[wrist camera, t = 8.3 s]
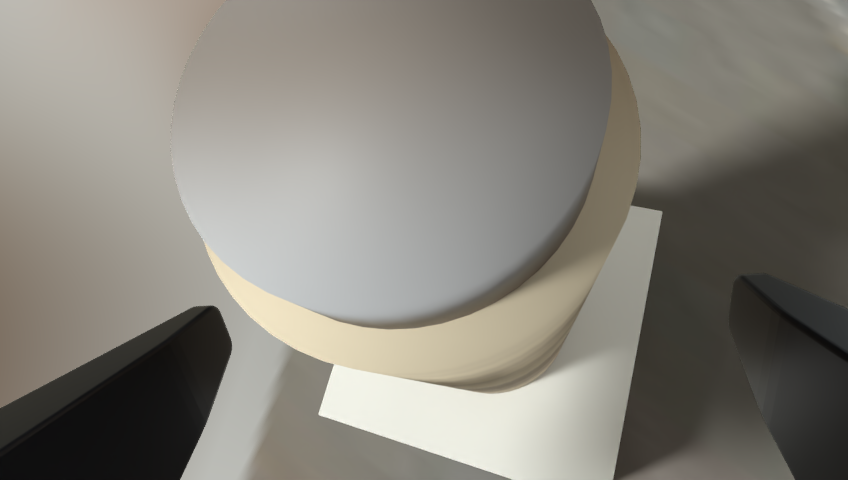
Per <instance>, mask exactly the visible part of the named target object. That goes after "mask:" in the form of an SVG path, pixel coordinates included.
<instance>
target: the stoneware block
mask: <svg viewBox="0 0 848 480" xmlns="http://www.w3.org/2000/svg"><path fill="white" fill-rule="evenodd" d="M662 212H663V211H658V210H652V209H647V208H642V207H636V206H630V209H629V212H628V216H627V219H626V221H625V223H624V225H623V227H622V229H621V231H620V233H619V235H618V237H617V239H616V241H615V244H614V246H613V248H612V250H611V252H610V254H609V256H608V257H607V259H606V261H605V263H604V265H603V267H602V269H601V271H600V273H599V275H598V277H597V279H596V281H595V283H594V285H593V287H592V289H591V291H590V293H589V295H588V297H587V298H586V300H585V302H584V304H583V306H582V308H581V310H580V312H579V314H578V316H577V318H576V320H575V322H574V324H573V326H572V328H571V330H570V332H569V334H568V336H567V338H566V340H565V341H564V343H563V345H562V347H561V349H560V351H559V353H558V355H557V357H556V358H555V360H554V361H553V363H552V364H551V365H550V367H549V368H548V369H547V370H546V371H545V372H544V373H543V374H542V375H541V376H539V377H538V378H537V379H536V380H534V381H533V382H531V383H529V384H528V385H526V386H524V387H521V388H519V389H516V390H513V391H510V392H504V393H495V394H487V393H478V392H473V391H467V390H462V389H457V388H451V387H446V386H441V385H436V384H430V383H425V382H420V381H414V380H409V379H404V378H398V377H393V376H388V375H382V374H377V373H372V372H367V371H361V370H356V369H352V368H348V367H344V366H340V365H336V364H334V367H333V370H332V373H331V376H330V379H329V382H328V386H327V389H326V392H325V395H324V398H323V402H322V405H321V408H320V411H319V414H318V415H321V416H324V417H327V418H330V419H333V420H336V421H339V422H342V423H345V424H348V425H351V426H354V427H357V428H360V429H363V430H366V431H369V432H372V433H375V434H378V435H381V436H384V437H387V438H390V439H393V440H396V441H399V442H402V443H405V444H408V445H411V446H414V447H417V448H420V449H423V450H426V451H429V452H432V453H435V454H438V455H441V456H444V457H447V458H450V459H453V460H456V461H459V462H462V463H465V464H468V465H471V466H474V467H477V468H480V469H483V470H486V471H489V472H492V473H495V474H498V475H501V476H504V477H507V478H510V479H513V480H613V477H614V472H615V466H616V461H617V456H618V450H619V445H620V439H621V434H622V428H623V423H624V418H625V412H626V407H627V401H628V396H629V391H630V385H631V380H632V374H633V369H634V363H635V358H636V353H637V347H638V342H639V336H640V331H641V326H642V320H643V315H644V309H645V304H646V298H647V293H648V288H649V282H650V277H651V271H652V266H653V261H654V255H655V250H656V244H657V239H658V233H659V228H660V223H661V217H662Z"/></svg>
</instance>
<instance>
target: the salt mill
mask: <svg viewBox="0 0 848 480" xmlns="http://www.w3.org/2000/svg"><path fill="white" fill-rule="evenodd" d="M171 155H172V163H173V170H174V176H175V180H176V183H177V187H178V190H179V194H180V198H181V200H182V202H183V205H184V207H185V209H186V211H187V213H188V216H189V218H190V220H191V222H192V223H193V225H194V226H195V228H196V229H197V231H198V233H199V234H200V235H201V237H202V239H203V240H204V243H205V246H206V250H207V252H208V254H209V256H210V258H211V261H212V263H213V265H214V267H215V269H216V272H217V274H218V276H219V277H220V279H221V280H222V282H223V283H224V285H225V286H226V288H227V289H228V291H229V293H230V294H231V296H232V297H233V298H234V299H235V300H236V301H237V303H238V304H239V305H240V306H241V307H242V308H243V309H244V310H245V312H246V313H247V314H248V315H249V316H250V317H251V318H252V319H253V320H255V321H256V322H257V323H258V324H259V325H261V326H262V327H263V328H264V329H266V330H267V331H268V332H269V333H270V334H271V335H273V336H275V337H277V338H278V339H280V340H281V341H283V342H284V343H286V344H288V345H289V346H291V347H293V348H294V349H296V350H298V351H300V352H303V353H305V354H308V355H310V356H312V357H315V358H317V359H319V360H322V361H324V362H328V363H332V364H336V365H340V366H344V367H348V368H352V369H356V370H361V371H367V372H372V373H377V374H382V375H388V376H393V377H398V378H404V379H409V380H414V381H420V382H425V383H430V384H436V385H441V386H446V387H451V388H457V389H462V390H467V391H473V392H478V393H487V394H495V393H504V392H510V391H513V390H516V389H519V388H521V387H524V386H526V385H528V384H529V383H531V382H533V381H534V380H536V379H537V378H538V377H539V376H541V375H542V374H543V373H544V372H545V371H546V370H547V369H548V368H549V367H550V365H551V364H552V363H553V361H554V360H555V358H556V357H557V355H558V353H559V351H560V349H561V347H562V345H563V343H564V341H565V340H566V338H567V336H568V334H569V332H570V330H571V328H572V326H573V324H574V322H575V320H576V318H577V316H578V314H579V312H580V310H581V308H582V306H583V304H584V302H585V300H586V298H587V297H588V295H589V293H590V291H591V289H592V287H593V285H594V283H595V281H596V279H597V277H598V275H599V273H600V271H601V269H602V267H603V265H604V263H605V261H606V259H607V257H608V256H609V254H610V252H611V250H612V248H613V246H614V244H615V241H616V239H617V237H618V235H619V233H620V231H621V229H622V227H623V225H624V223H625V221H626V219H627V216H628V212H629V209H630V206H631V203H632V200H633V196H634V193H635V190H636V185H637V179H638V173H639V166H640V160H641V127H640V120H639V114H638V107H637V101H636V97H635V94H634V91H633V88H632V85H631V82H630V79H629V75H628V73H627V71H626V69H625V67H624V65H623V63H622V61H621V59H620V57H619V55H618V53H617V51H616V49H615V47H614V46H613V45H612V43H611V42H610V40H609V39H608V37H607V36H606V35H605V33H604V29H603V26H602V23H601V20H600V17H599V15H598V13H597V11H596V9H595V7H594V5H593V3H592V1H591V0H226V1H225V2H224V3H223V5H222V6H221V7H220V8H219V9H218V11H217V12H216V13H215V15H214V16H213V17H212V19H211V20H210V22H209V23H208V25H207V26H206V28H205V29H204V31H203V32H202V34H201V36H200V37H199V40H198V41H197V43H196V45H195V47H194V49H193V51H192V52H191V55H190V56H189V59H188V61H187V64H186V67H185V69H184V71H183V74H182V77H181V80H180V83H179V87H178V90H177V94H176V98H175V102H174V109H173V116H172V123H171Z"/></svg>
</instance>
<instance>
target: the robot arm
mask: <svg viewBox="0 0 848 480" xmlns="http://www.w3.org/2000/svg"><path fill="white" fill-rule="evenodd" d="M729 329H730V332H731V335H732V338H733V341H734V343H735V346H736V349H737V351H738V354H739V357H740V359H741V362H742V365H743V367H744V370H745V373H746V375H747V378H748V381H749V383H750V386H751V389H752V391H753V394H754V397H755V399H756V402H757V404H758V407H759V409H760V412H761V414H762V416H763V418H764V420H765V422H766V424H767V427H768V429H769V431H770V432H771V434H772V436H773V438H774V440H775V442H776V444H777V446H778V448H779V450H780V452H781V454H782V455H783V457H784V459H785V461H786V463H787V465H788V467H789V469H790V471H791V473H792V475H793V476H794V478H795V480H848V309H846V308H844V307H842V306H839V305H837V304H835V303H833V302H830V301H828V300H826V299H823V298H821V297H819V296H817V295H814V294H812V293H810V292H807V291H805V290H803V289H801V288H798V287H796V286H794V285H791V284H789V283H787V282H784V281H782V280H780V279H778V278H775V277H773V276H771V275H768V274H765V273H756V274H741V275H738V276H737V277H736V278H735V280H734V282H733V287H732V295H731V302H730V310H729ZM231 351H232V342H231V338H230V336H229V333H228V331H227V328H226V325H225V323H224V320H223V318H222V316H221V313H220V311H219V309H218V308H217V307H215V306H196V307H193V308H190V309H188V310H187V311H185V312H183V313H181V314H179V315H177V316H175V317H173V318H171V319H169V320H167V321H166V322H164V323H162V324H160V325H158V326H156V327H154V328H152V329H150V330H148V331H147V332H145V333H143V334H141V335H139V336H137V337H135V338H133V339H131V340H129V341H128V342H126V343H124V344H122V345H120V346H118V347H116V348H114V349H112V350H111V351H108V352H107V353H105V354H103V355H101V356H99V357H97V358H95V359H93V360H91V361H90V362H88V363H86V364H84V365H82V366H80V367H78V368H76V369H74V370H72V371H70V372H69V373H67V374H65V375H63V376H61V377H59V378H57V379H55V380H53V381H51V382H49V383H48V384H46V385H44V386H42V387H40V388H38V389H36V390H34V391H32V392H30V393H29V394H27V395H25V396H23V397H21V398H19V399H17V400H15V401H13V402H11V403H9V404H8V405H6V406H4V407H2V408H0V480H180V478H181V477H182V474H183V472H184V470H185V468H186V466H187V464H188V462H189V460H190V457H191V455H192V453H193V451H194V449H195V447H196V445H197V443H198V440H199V438H200V436H201V434H202V432H203V429H204V427H205V425H206V422H207V420H208V417H209V414H210V412H211V409H212V406H213V404H214V401H215V398H216V395H217V392H218V389H219V386H220V383H221V381H222V378H223V375H224V372H225V369H226V367H227V364H228V361H229V358H230V355H231Z"/></svg>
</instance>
